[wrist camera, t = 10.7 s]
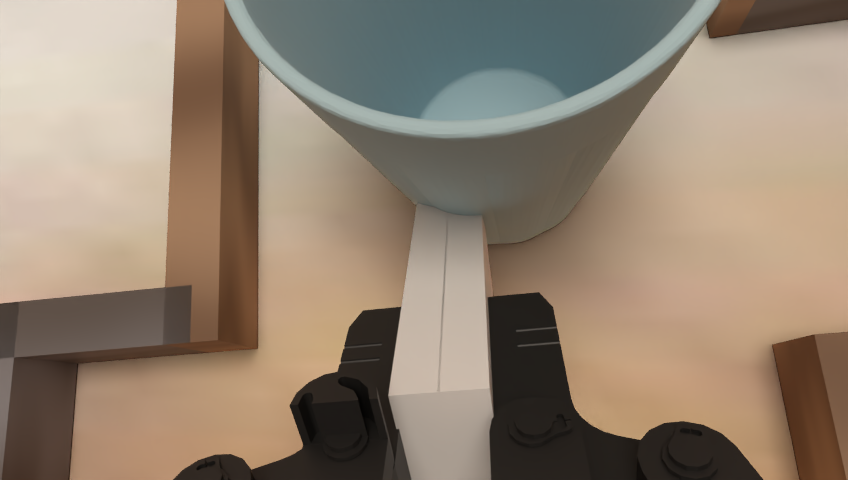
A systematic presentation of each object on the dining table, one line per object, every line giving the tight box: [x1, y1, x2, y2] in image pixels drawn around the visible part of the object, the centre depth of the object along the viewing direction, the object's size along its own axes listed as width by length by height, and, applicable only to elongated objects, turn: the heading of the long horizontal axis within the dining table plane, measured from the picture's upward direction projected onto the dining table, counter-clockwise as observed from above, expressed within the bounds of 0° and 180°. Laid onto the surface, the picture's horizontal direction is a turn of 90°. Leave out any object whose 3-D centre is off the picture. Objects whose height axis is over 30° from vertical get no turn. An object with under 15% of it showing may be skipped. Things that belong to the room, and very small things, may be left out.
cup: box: [224, 0, 721, 244], centre depth 14 cm, size 8×8×10 cm
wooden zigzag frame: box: [0, 0, 848, 480], centre depth 16 cm, size 32×28×4 cm
